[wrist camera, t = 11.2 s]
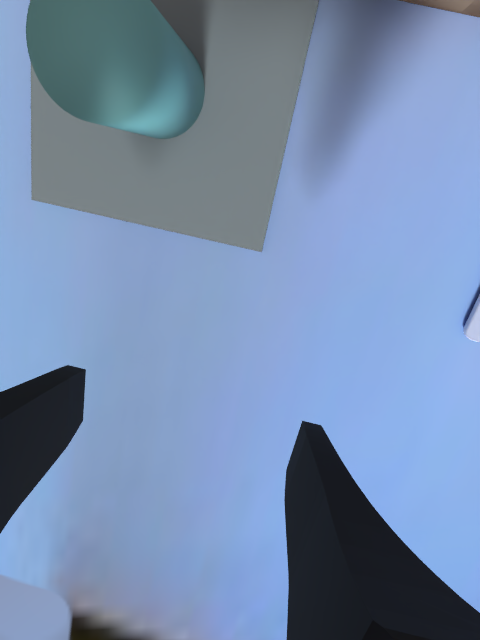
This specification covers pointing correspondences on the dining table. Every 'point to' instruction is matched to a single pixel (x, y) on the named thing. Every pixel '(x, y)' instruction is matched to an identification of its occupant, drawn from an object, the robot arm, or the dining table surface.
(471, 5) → the holder block
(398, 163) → the dining table surface
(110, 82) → the peg
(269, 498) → the dining table surface
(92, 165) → the slate mat
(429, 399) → the dining table surface
